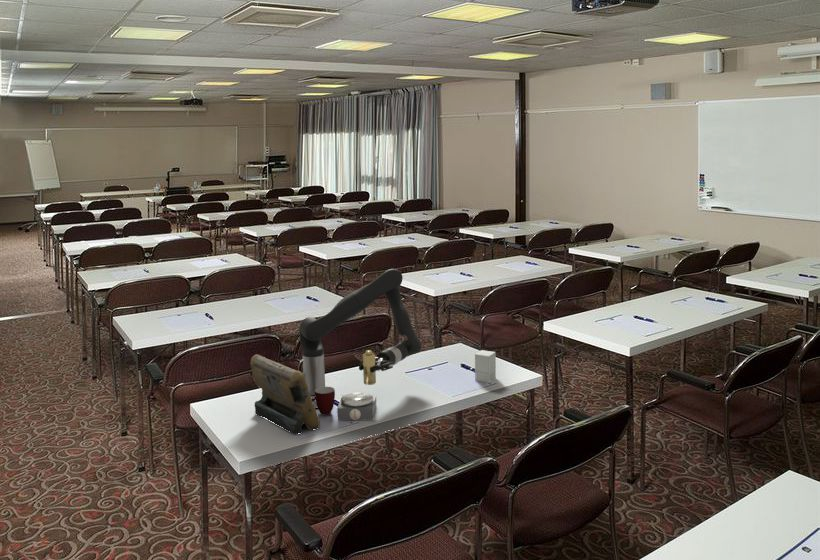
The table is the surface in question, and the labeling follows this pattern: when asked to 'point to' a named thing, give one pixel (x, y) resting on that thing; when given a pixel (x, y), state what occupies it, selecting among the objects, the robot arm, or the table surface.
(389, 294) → the robot arm
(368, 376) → the calibration weight
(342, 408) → the scale housing
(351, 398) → the scale platter
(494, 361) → the supplement box
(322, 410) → the mug
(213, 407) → the table surface
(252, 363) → the tablet
